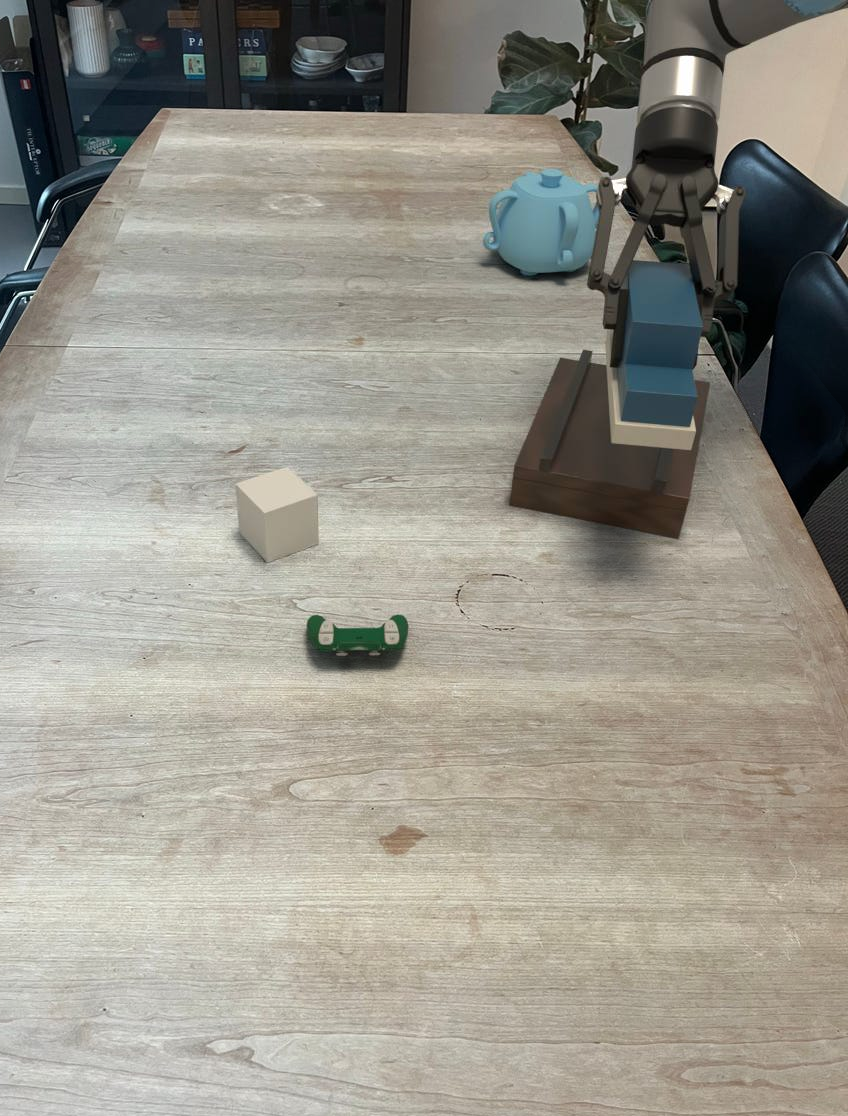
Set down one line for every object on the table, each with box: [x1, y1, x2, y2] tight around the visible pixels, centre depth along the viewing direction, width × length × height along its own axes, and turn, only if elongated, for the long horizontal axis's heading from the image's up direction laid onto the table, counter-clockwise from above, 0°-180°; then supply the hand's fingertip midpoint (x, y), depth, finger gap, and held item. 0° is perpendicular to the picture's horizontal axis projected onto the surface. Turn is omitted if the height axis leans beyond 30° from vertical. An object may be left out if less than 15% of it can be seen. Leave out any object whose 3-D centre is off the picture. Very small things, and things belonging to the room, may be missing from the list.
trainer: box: [604, 259, 703, 450], centre depth 96 cm, size 20×7×9 cm, turn 172°
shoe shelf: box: [508, 349, 711, 539], centre depth 116 cm, size 18×26×6 cm
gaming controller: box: [306, 613, 409, 657], centre depth 93 cm, size 9×4×6 cm
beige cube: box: [234, 466, 320, 563], centre depth 104 cm, size 6×6×6 cm
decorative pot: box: [482, 168, 599, 276], centre depth 157 cm, size 16×16×14 cm
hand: (652, 365), depth 96 cm, fingers closed on trainer, 6 cm apart
